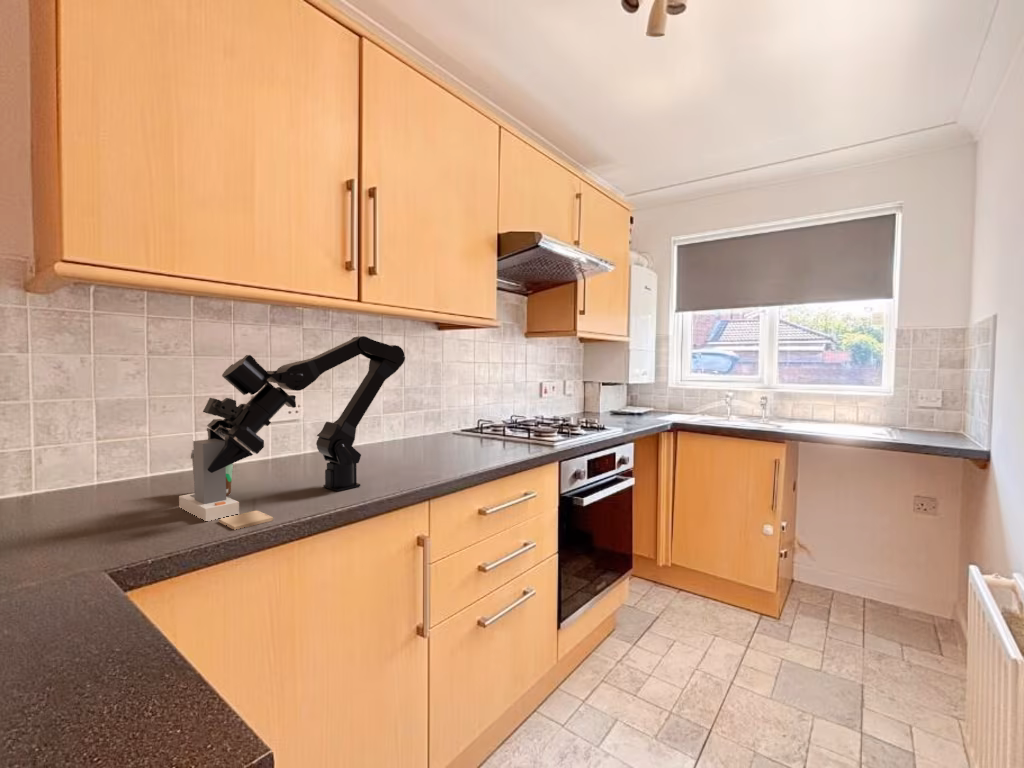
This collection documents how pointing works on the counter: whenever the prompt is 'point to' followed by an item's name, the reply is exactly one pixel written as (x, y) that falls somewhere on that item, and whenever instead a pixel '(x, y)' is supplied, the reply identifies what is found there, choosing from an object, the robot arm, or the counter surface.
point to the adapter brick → (207, 483)
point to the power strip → (209, 507)
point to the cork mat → (245, 519)
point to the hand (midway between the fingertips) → (202, 467)
